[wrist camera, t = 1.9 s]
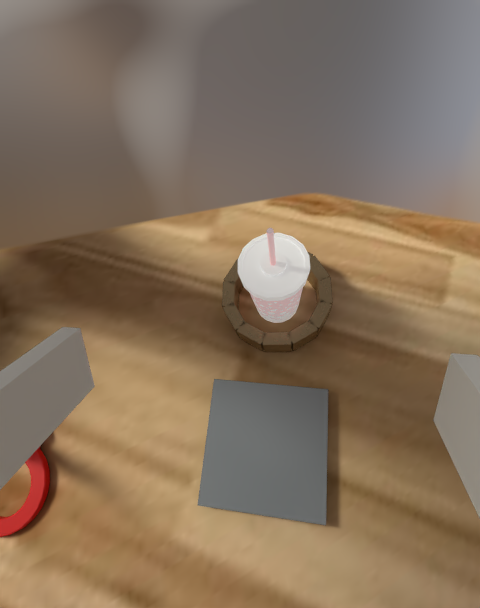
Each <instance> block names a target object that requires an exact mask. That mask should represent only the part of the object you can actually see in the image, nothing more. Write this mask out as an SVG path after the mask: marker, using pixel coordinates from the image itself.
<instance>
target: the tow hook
mask: <svg viewBox="0 0 480 608" xmlns="http://www.w3.org/2000/svg"><path fill="white" fill-rule="evenodd" d="M25 463H26V464H27V466H28V468H29V470H30V474H31V488H30V493H29V495H28V498H27V500H26V502H25V503H24V505H23V506H22V507H21V509H19V510H18V511H17V512H16V513H15V514H13V515H12V516H9V517H1V516H0V537H2V536H7V535H11V534H13V533H15V532H17V531H19V530H21V529H23V528H24V527H26V526H27V525H28V524H29V523H30V522H31V521H32V520H33V519H34V518H35V517H36V516H37V514H38V513H39V511H40V510H41V508H42V507H43V504H44V502H45V499H46V497H47V494H48V489H49V484H50V470H49V467H48V463H47V459H46V458H45V456H44V454H43V452H42V451H41V450H40V447H39V448H38V449H37V450H36V451H35V452H34V453H33V454H32V456H31V457H30V458H29V459H28V460H27V461H26V462H25Z"/></svg>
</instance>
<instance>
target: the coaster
mask: <svg viewBox="0 0 480 608" xmlns="http://www.w3.org/2000/svg"><path fill="white" fill-rule="evenodd" d="M327 441H328V389H318V388H308V387H297V386H286V385H275V384H264V383H253V382H242V381H231V380H220V379H214V385H213V392H212V400H211V407H210V415H209V423H208V430H207V438H206V445H205V453H204V461H203V468H202V476H201V484H200V491H199V499H198V505H199V506H206V507H212V508H219V509H225V510H231V511H238V512H244V513H251V514H257V515H263V516H270V517H276V518H283V519H289V520H296V521H302V522H308V523H315V524H321V525H326V500H327Z"/></svg>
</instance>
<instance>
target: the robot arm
mask: <svg viewBox="0 0 480 608" xmlns="http://www.w3.org/2000/svg"><path fill="white" fill-rule="evenodd" d="M93 388H94V382H93V378H92V374H91V370H90V366H89V362H88V358H87V354H86V349H85V345H84V341H83V337H82V333H81V329H80V328H70V327H62V328H61V329H59V330H58V331H56V332H55V333H53V334H52V335H51V336H49V337H48V338H46V339H45V340H44V341H42V342H41V343H39V344H38V345H37V346H35V347H34V348H32V349H31V350H30V351H28V352H27V353H25V354H24V355H23V356H21V357H20V358H18V359H17V360H15V361H14V362H13V363H11V364H10V365H8V366H7V367H6V368H4V369H3V370H1V371H0V489H1V488H2V487H3V486H4V485H5V484H6V483H7V482H8V481H9V480H10V479H11V477H12V476H13V475H14V474H15V473H16V472H17V471H18V470H19V469H20V468H21V466H22V465H23V464H24V463H25V462H26V461H27V460H28V459H29V458H30V457H31V456H32V454H33V453H34V452H35V451H36V450H37V449H38V448H39V447H40V446H41V445H42V443H43V442H44V441H45V440H46V439H47V438H48V437H49V436H50V435H51V434H52V432H53V431H54V430H55V429H56V428H57V427H58V426H59V425H60V424H61V423H62V422H63V420H64V419H65V418H66V417H67V416H68V415H69V414H70V413H71V412H72V411H73V409H74V408H75V407H76V406H77V405H78V404H79V403H80V402H81V401H82V400H83V399H84V397H85V396H86V395H87V394H88V393H89V392H90V391H91V390H92V389H93ZM433 421H434V423H435V425H436V427H437V429H438V431H439V433H440V435H441V438H442V440H443V442H444V444H445V446H446V448H447V450H448V452H449V455H450V457H451V459H452V461H453V463H454V465H455V467H456V469H457V472H458V474H459V476H460V478H461V480H462V482H463V484H464V486H465V489H466V491H467V493H468V495H469V497H470V499H471V501H472V503H473V505H474V508H475V510H476V512H477V514H478V516H479V518H480V357H479V356H478V355H469V354H455V353H451V355H450V359H449V363H448V367H447V370H446V374H445V378H444V382H443V386H442V389H441V393H440V397H439V401H438V405H437V408H436V412H435V416H434V420H433Z"/></svg>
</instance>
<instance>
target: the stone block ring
mask: <svg viewBox="0 0 480 608" xmlns="http://www.w3.org/2000/svg"><path fill="white" fill-rule="evenodd" d="M308 254H309V258H310V272H309V275H308V278H307V280H308V281H309V283H310V284H311V285H312V287H313V288H314V289H315V291H316V299H317V307H316V308H315V310H314V312H313V314H312V316H311V318H310V319H309V321H307V322H305V323H304V324H302V325H300V326H298V327H297V328H295V329H293V330H291V331H290V332H268V333H265V332H263V331H261V330H259V329H257V328H255V327H254V326H252V325H250V324H248V323H246V322H245V321H244V319H243V318H242V316H241V314H240V313H239V311H238V304H239V293H240V291H241V290H242V288H243V287H244V286H243V284H242V281H241V279H240V277H239V275H238V259H237V260H236V262H235V263H234V265H233V266H232V268H231V270H230V271H229V273H228V274H227V276H226V277H225V279H224V282H223V299H222V307H223V309H224V311H225V313H226V315H227V317H228V319H229V320H230V322H231V324H232V326H233V327H234V329H235V331H236V333H237V334H238V336H239V338H240V339H242V340H243V341H245V342H247V343H249V344H251V345H252V346H254V347H256V348H258V349H259V350H261V351H265V352H291V349H292V350H293V351H294V350H296V349H298V348H299V347H301V346H303V345H304V344H306V343H308V342H310V341H311V340H313V339H315V338H316V336H318V334H319V332H320V330H321V328H322V326H323V325H324V323H325V321H326V319H327V317H328V315H329V313H330V310H331V307H332V303H333V302H332V290H331V278H330V275H329V274H328V273H327V271H326V270H325V269H324V267H323V266H322V265H321V263H320V262H319V261H318V259H317V258H316V257H315V256H313V254H311V253H309V252H308Z"/></svg>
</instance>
